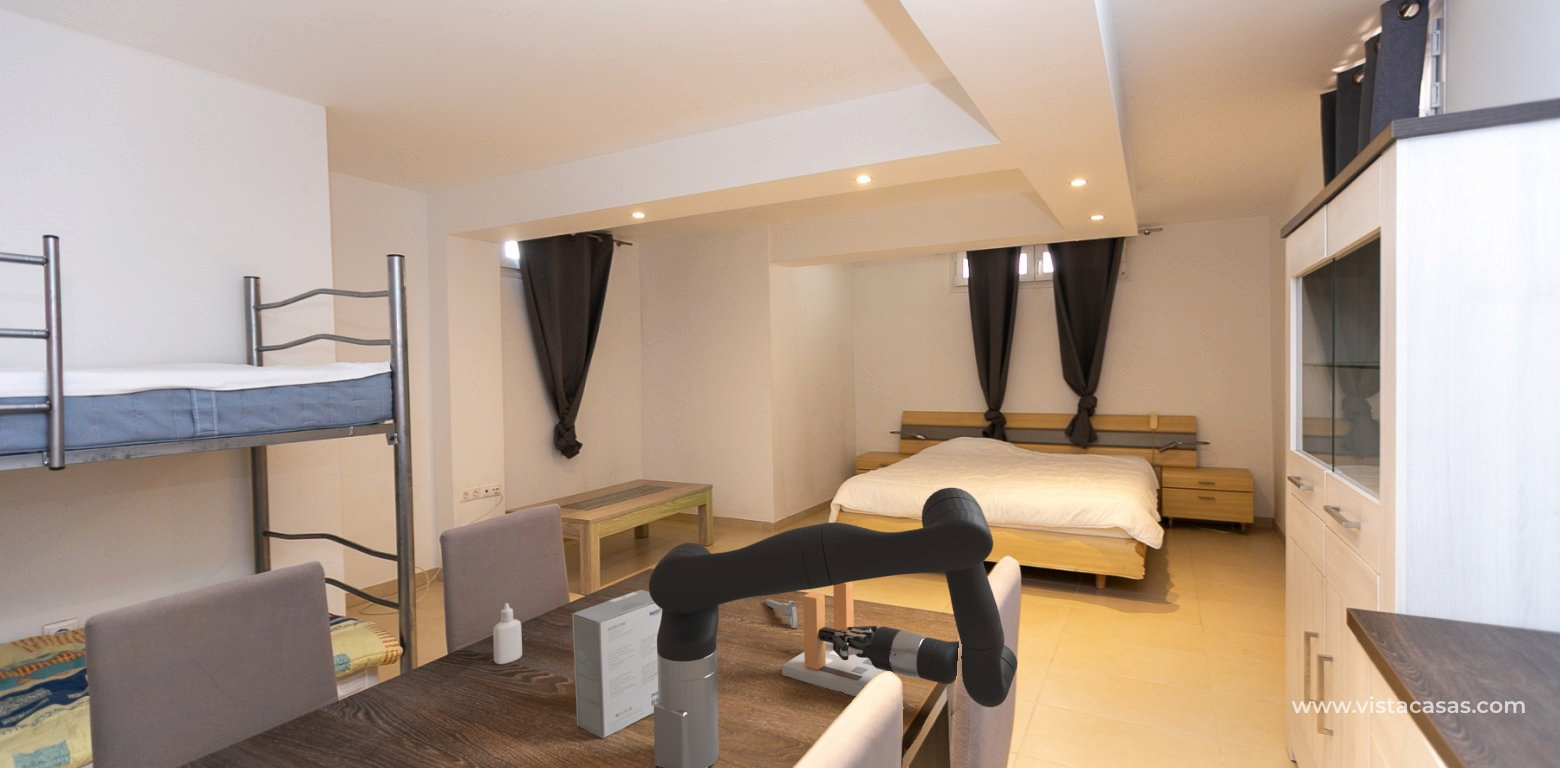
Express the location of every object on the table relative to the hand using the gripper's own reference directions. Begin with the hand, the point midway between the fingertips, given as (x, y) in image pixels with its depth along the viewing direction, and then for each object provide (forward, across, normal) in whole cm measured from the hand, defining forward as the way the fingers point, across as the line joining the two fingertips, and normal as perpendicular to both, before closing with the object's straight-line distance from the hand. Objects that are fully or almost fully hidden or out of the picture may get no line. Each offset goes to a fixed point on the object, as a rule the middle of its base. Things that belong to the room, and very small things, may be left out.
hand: (821, 633), depth 140 cm
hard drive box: (+21, +32, +9) cm, 39 cm away
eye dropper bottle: (+60, +29, +9) cm, 67 cm away
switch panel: (-2, -6, +9) cm, 11 cm away
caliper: (+28, -24, +9) cm, 38 cm away
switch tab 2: (+1, -11, +7) cm, 13 cm away
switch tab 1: (+2, 0, +7) cm, 7 cm away
